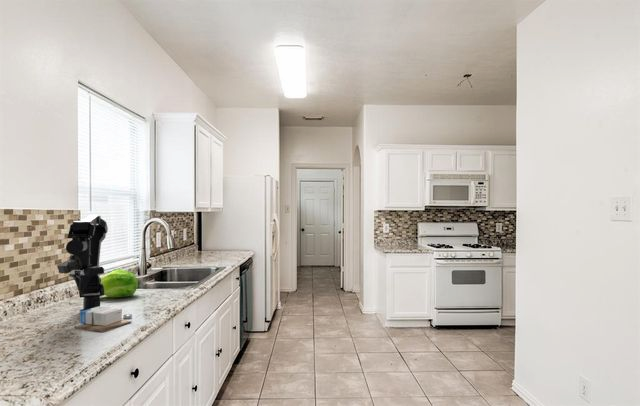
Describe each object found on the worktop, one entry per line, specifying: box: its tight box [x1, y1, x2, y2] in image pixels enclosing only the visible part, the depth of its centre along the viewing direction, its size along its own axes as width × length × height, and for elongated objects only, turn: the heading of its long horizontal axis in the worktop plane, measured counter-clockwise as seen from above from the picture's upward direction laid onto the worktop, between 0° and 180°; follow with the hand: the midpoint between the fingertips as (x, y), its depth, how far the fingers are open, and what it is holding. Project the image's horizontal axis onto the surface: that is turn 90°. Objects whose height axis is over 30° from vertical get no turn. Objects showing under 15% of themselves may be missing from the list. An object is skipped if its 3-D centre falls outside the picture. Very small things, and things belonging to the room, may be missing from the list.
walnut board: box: [74, 319, 132, 333], centre depth 144 cm, size 14×13×1 cm
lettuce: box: [99, 269, 139, 298], centre depth 192 cm, size 15×22×15 cm
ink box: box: [79, 306, 123, 326], centre depth 146 cm, size 9×5×12 cm
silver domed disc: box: [122, 313, 133, 320], centre depth 154 cm, size 3×3×1 cm
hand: (80, 291), depth 149 cm, fingers closed
